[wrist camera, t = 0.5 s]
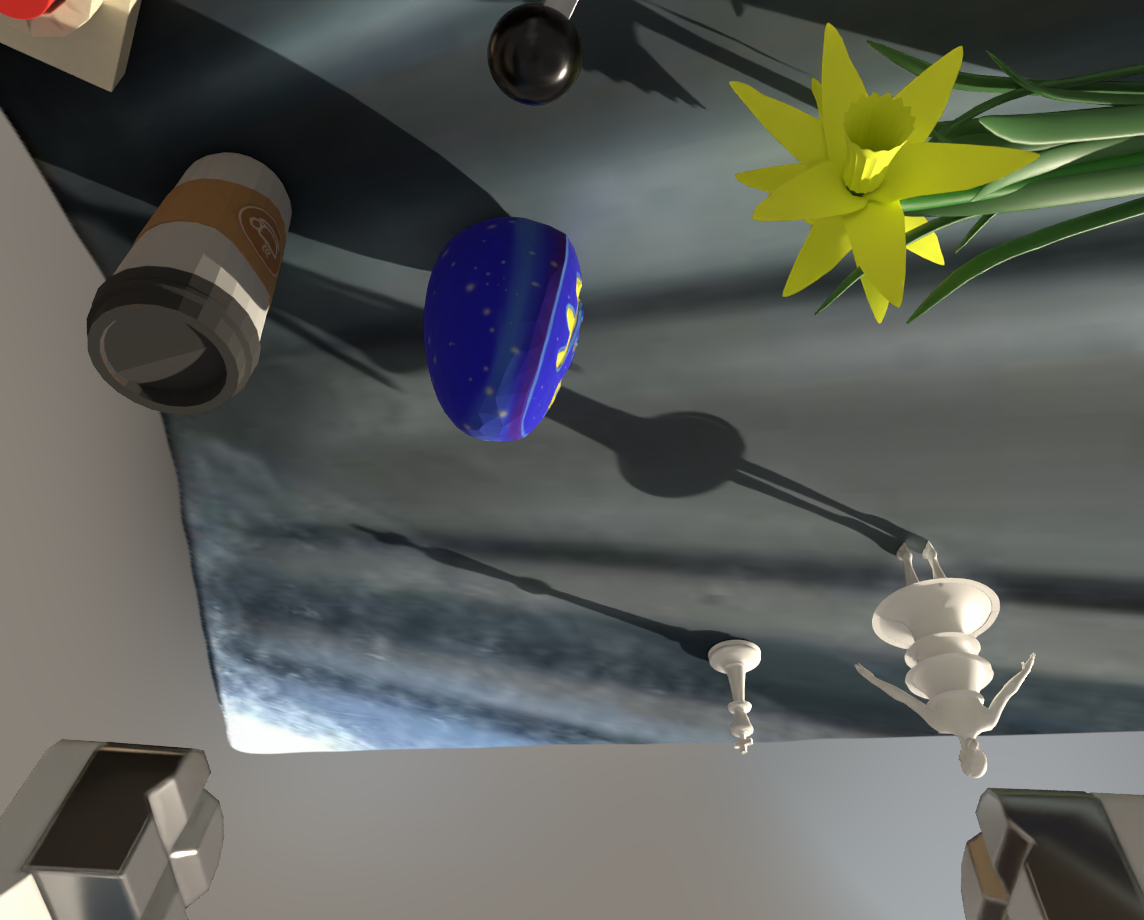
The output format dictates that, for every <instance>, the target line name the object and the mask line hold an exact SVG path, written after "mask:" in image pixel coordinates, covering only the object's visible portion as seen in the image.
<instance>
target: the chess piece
mask: <svg viewBox="0 0 1144 920" xmlns="http://www.w3.org/2000/svg"><path fill="white" fill-rule="evenodd" d="M760 656H761V651H760V649H759V647H758V646H757V645H755V644H754V643H752V642H749V641H745V640H727V641H723V642H720V643H718V644H716V645H715V646H713V647H712V648H711V649H710V650H709V652H708V658H709V662H710V665H711V666H712V667H713V668H714V669H715V670H717V671H719V672H722V673H726V674H727V675H728V678H729V682H730V686H731V691H732V696H733V702H731V703H729V705H728V709H729V711H730V712H731V713H733V714H734V717H733V722H732V725H731V730H730V731H731V734H732V735H734V736H736V737H739V739H740V741H736V742H733V745H734V748H735V749H738V748H740V749H741V753H743V754H744V753H747V746H749V745H753V739H751V738H748V739H746V737H747V736H749V735H751V734H752V733H753V727H752V725H751V723H750V721H749V718H748V716H747V714H746V713H748V712H749V711H750V710H751V704H750V703H749V702H747V701H744V687H745V673H746V672H748V671H750V670H752V669H754V668H755V667H756V666H757V665H758V664H759V663H760V660H761V657H760Z"/></svg>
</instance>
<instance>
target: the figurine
mask: <svg viewBox="0 0 1144 920" xmlns="http://www.w3.org/2000/svg"><path fill="white" fill-rule="evenodd" d="M897 558H898V559H899V560H903V564H904V567H905V580H906V587H904V588H902V589H899V590H898V591H896V592H894V593H892V594H891V595H889V596H888V597H887V598H886V599H884V600H883V601H882V602H881V603H880V604H879V606H878V607H877V608H876V610H875V613H874V616H873V619H872V625H873V629H874V631H875V633H876V634H877V635H878V636H879V637H880V638H881V639H882V640H884V641H885V642H887V643H889V644H891V645H894V646H897V647H900V648H904V649H907V651H906V654H905V662H906V664H907V665H908V666H909V667H911V669H910V670H909V672H908V673H907V675H906V679H905V683H906V684H907V686H908V688H909V689H910V691H911V692H913V693H914V694H916V695H917V696H920V697H923V698H926V699H930V700H929V701H928V703H927V704H926V705H925V704H924V703H922V702H921V701H919V700H917V699H916V698H914V697H912V696H911V695H909V694H908V693H906V692H905V691H903V690H901V689H900V688H898V687H896V686H894V685H891V684H889V683H887V682H884V681H882V680H880V679H878V678H876V677H874V675H873V674H872V673H871V672H870V671H868V670H867V669H866V668H864V667H863V666H862V665H861V664H860V663H858V665H859V666H860V667H861V668H860V667H859V666H858V665H857V664H855V668H856V670H857V671H858V672H859V673H860V674H861V675H862V676H863V677H865V678H866V679H868V680H869V681H870V682H871V683H873V684H874V685H876V686H878V687H879V688H881V689H882V690H883V691H885V692H886V693H887V694H889V695H890V696H891V697H893V698H895V699H896V700H899V701H901V702H903V703H905V704H906V705H908V706H909V707H910V708H911V709H913V710H914V711H915V712H917V713H918V714H919V715H920V716H921V717H922V718H923V719H924V720H925V721H926V722H927V723H928V724H929V725H930V726H931V727H932V728H934V729H935V730H937V731H939V733H950V734H954V735H956V736H958V737H959V739H960V742H961V747H962V750H961V751H960V755H959V760H960V762H961V767H962V770H963V772H964V773H965V774H966V775H967V776H970V777H972V778H979V777H981V776H983V774H984V773H985V772H986V770H987V759H986V755H985V754H984V753H983V751H982V750H981V749H980V748H978V745H979V743H978V741H977V740H976V735H977V734H978V735H979V734H980V733H981V732H984V731H989V730H992V729H993V727H994V726H995V725H996V724H997V722H998V720H999V718H1000V715H1001V712H1002V710H1003V708H1004V706H1005V704H1006V703H1007V701H1008V700H1009V698H1010V697H1011V696H1012V695H1013V694H1014V693H1016V691H1017V690H1018V689H1019V687H1020V686H1021V684H1022V682H1023V680H1024V679H1025V677H1026V676H1027V675H1028V674H1029V672H1030V670H1031V667H1032V665H1033V663H1034V658H1035V655H1036V653H1033V652H1032V653H1031V656H1030V658H1029V659H1028V661H1027V662H1026V663H1024V662H1022V669H1023V670H1022V671H1020V672H1019V673H1018V674H1017V675H1015V676H1014V677H1013V678H1012V679H1010V680H1009V681H1008V682H1007V683H1006V684H1005V686H1004V687H1003V688H1002V690H1001V691H1000V692H999V693H998V694H997V695H996V697H995V698H994V700H993V701H992V703H991V704H990V706H989V708H987V707H985V706H983V703H984V698H983V696H982V695H981V694H980V693H979V692H980V690H981V689H983V688H984V687H985V686H987V685H988V684H989V683H990V681H991V680H992V678H993V674H994V672H993V671H992V668H991V665H990V663H989V662H988V661H987V660H986V659H984V658H982V657H980V656H978V654H979V652H980V643H979V642H978V640H977V639H975V637H977V636H978V635H980V634H981V633H983V632H984V631H985V630H987V629H988V628H989V627H990V626H991V625H992V624H993V622H994V621H995V619H996V618H997V615H998V613H999V612H993V611H1000V602H999V598H998V596H997V595H996V594H995V592H994V591H993V590H991V589H990V588H989V587H987V586H985V585H983V584H981V583H979V582H976V581H972V580H968V579H961V578H946V576H945V574H944V573H943V571H942V569H941V568H940V566H939V564H938V560H937V552H936V551H935V549H934V548H933V546H932V545H931V543H930V541H929V540H928V542H927V544H926V546H925V549H924V550H923V558H924V559H928V560H929V563H930V565H931V567H932V570H933V578H934V579H932V580H926V581H921V582H919V580H918V578H917V576H916V574H915V571H914V569H913V567H912V563H911V561H912V558H913V557H912V554H911V553H910V552H909V551H908V550H907V548H906V544H905V542H904V543H903V545H902V546H901V547H900V548H899V550H898V551H897ZM949 582H950V583H949ZM962 583H963V584H962ZM967 584H968V585H967ZM970 585H971V586H970ZM973 586H974V587H973ZM975 587H976V588H975ZM977 588H979V589H980V590H979V589H977ZM981 590H982V591H984V592H985V593H986V594H987V595H988V596H989V597H990V599H991V601H992V613H991V615H990V617H989V619H988V621H987V622H986V624H985V625H984V626H983V627H981V626H982V625H983V624H984V623H985V621H986V620H987V618H988V616H989V614H990V612H991V601H990V599H989V597H988V596H987V595H986V594H985V593H984V592H982V591H981ZM880 618H884V619H880ZM888 619H891V620H888ZM893 620H896V621H893ZM897 621H899V622H897ZM900 622H902V623H904V624H905V625H907V626H908V627H909V628H910V629H911V630H912V632H913V634H914V637H913V635H912V633H911V631H910V629H909V628H908V627H907V626H905V625H904V624H902V623H900ZM980 627H981V628H980ZM978 628H980V629H979V630H978V631H976V630H977V629H978ZM974 631H976V632H975V633H973V632H974ZM971 633H973V634H971ZM969 634H971V635H969ZM887 636H888V637H887ZM890 638H891V639H890ZM892 639H893V640H892ZM894 640H895V641H894ZM896 641H897V642H896ZM899 642H900V643H899ZM902 643H903V644H902ZM906 644H908V645H906Z"/></svg>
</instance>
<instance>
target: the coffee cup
mask: <svg viewBox="0 0 1144 920" xmlns="http://www.w3.org/2000/svg"><path fill="white" fill-rule="evenodd" d="M291 215H292V210H291V204H290V199H289V197H288V195H287V192H286V190H285V188H284V186H283V184H282V182H281V181H280V180H279V178H278V177H277V176H276V174H275V173H274V172H273V171H271V170H270V169H269V168H268V167H267V166H265V165H264V164H263V163H261V162H259V161H257V160H255V159H253V158H252V157H249V156H245V155H242V154H239V153H227V152H223V153H218V154H212V155H208V156H205V157H203V158H201V159H199V160H197V161H195V162H194V163H193V164H192V165H191V166H190V167H189V168H188V169H187V170H186V172H185V173H184V175H183V176H182V178H181V179H180V180H179V182H178V183H177V185H176V186H175V188H174V189H173V190H172V191H171V192H170V193H169V194H168V195H167V196H166V197H165V199H164V200H163V202H162V203H161V204H160V206H159V207H158V209H157V210H156V211H155V213H154V214H153V216H152V217H151V219H150V220H149V221H148V223H147V224H146V226H145V227H144V228H143V230H142V231H141V233H140V234H139V235H138V237H137V238H136V240H135V242H134V244H133V246H132V249H131V250H130V252H129V253H128V254H127V256H126V257H125V259H124V260H123V262H122V263H121V264H120V266H119V267H118V269H117V270H116V272H115V273H114V274H113V276H110V277H109V278H108V279H107V280H106V281H105V282H104V283H103V284H102V285H101V286H100V287H99V288H98V290H97V293H96V295H95V298H94V300H93V302H92V307H91V309H90V312H89V314H88V317H87V336H88V352H89V355H90V357H91V360H92V363H93V365H94V367H95V368H96V369H97V371H98V372H99V373H100V375H101V376H102V378H103V379H104V380H105V381H106V382H107V383H108V384H109V385H111V386H112V387H113V388H114V389H115V390H116V391H117V392H119V393H120V394H122V395H124V396H125V397H127V398H128V399H130V400H132V401H133V402H135V403H138V404H140V405H143V406H145V407H147V408H150V409H152V410H157V411H161V412H165V413H169V414H181V415H193V414H200V413H207V412H209V411H212V410H214V409H217V408H219V407H221V406H222V405H223V404H225V403H226V402H227V401H228V400H230V399H231V397H233V396H234V395H235V394H236V393H238V392H239V391H240V390H241V389H243V388H244V386H245V384H246V383H247V381H248V379H249V377H250V376H251V374H252V372H253V370H254V368H255V367H256V365H257V363H258V362H259V355H260V348H261V345H260V338H261V334H262V330H263V326H264V322H265V319H266V315H267V311H268V309H269V307H270V305H271V302H272V298H273V294H274V290H275V286H276V282H277V278H278V274H279V270H280V266H281V262H282V258H283V254H284V248H285V243H286V237H287V233H288V230H289V226H290V221H291Z"/></svg>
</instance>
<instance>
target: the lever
mask: <svg viewBox="0 0 1144 920" xmlns="http://www.w3.org/2000/svg"><path fill="white" fill-rule="evenodd" d="M577 2H578V0H541V2H540V3H525V4H522V5H519V6H517V7H514V8H512V9H511V10H509V11H508V12H507V13H505V14H504V15H503V16H502V17H501V18H500V19H499V20H498V22H497V23H496V25H495V26H494V28H493V30H492V32H491V35H490V38H489V42H488V48H487V59H488V65H489V69H490V72H491V75H492V77H493V79H494V81H495V83H496V84H497V85H498V87H499V88H500V89H501V90H502V91H503V92H504V94H506V95H507V96H508V97H509V98H511V99H513V100H514V101H517V102H519V103H522V104H525V105H532V106H541V105H546V104H550V103H553V102H555V101H557V100H559V99H560V98H562V97H563V96H564V95H565V94H567V93H568V92H569V90H570V89H571V88H572V87H573V85H574V84H575V82H576V81H577V79H578V76H579V74H580V71H581V67H582V61H583V48H582V42H581V38H580V36H579V33H578V31H577V29H576V27H575V25H574V24H573V23H572V21H571V20H570V17H571V15H572V13H573V11H574V9H575V6H576V4H577Z"/></svg>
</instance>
